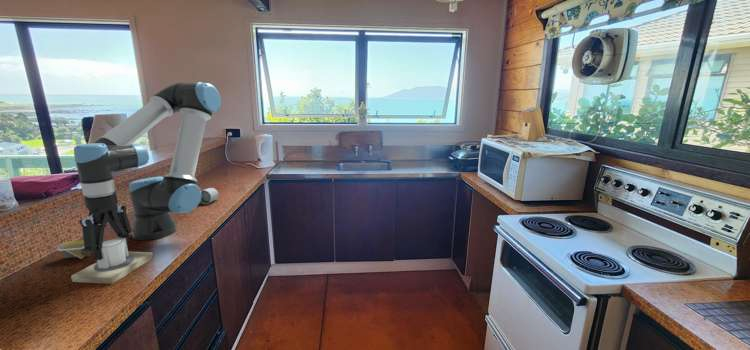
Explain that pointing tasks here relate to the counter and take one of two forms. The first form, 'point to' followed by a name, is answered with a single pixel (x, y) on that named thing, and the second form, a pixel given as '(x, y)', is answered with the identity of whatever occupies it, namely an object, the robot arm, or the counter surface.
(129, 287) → the counter surface
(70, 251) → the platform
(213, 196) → the ceramic mug
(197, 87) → the robot arm
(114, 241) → the shot glass
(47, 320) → the counter surface
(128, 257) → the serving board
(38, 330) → the counter surface
